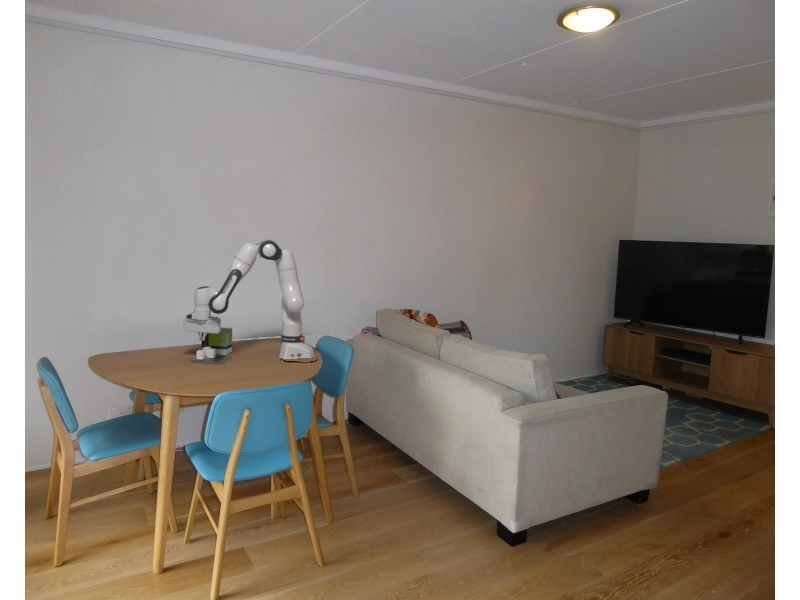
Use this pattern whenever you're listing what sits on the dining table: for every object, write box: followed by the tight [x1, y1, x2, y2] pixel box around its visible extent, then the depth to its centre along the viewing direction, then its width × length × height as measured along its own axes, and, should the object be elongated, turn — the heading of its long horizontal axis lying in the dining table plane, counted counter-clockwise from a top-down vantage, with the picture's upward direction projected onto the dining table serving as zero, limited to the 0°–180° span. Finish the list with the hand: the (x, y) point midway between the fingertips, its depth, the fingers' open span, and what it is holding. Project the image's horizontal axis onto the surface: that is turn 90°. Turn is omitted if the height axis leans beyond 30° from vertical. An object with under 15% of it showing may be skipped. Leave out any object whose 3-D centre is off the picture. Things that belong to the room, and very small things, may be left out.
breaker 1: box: [196, 349, 205, 360], centre depth 302 cm, size 4×3×4 cm
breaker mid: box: [207, 349, 216, 358], centre depth 306 cm, size 4×3×4 cm
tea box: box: [200, 327, 233, 356], centre depth 325 cm, size 15×10×15 cm
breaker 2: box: [203, 347, 211, 356], centre depth 311 cm, size 4×3×4 cm
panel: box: [189, 354, 232, 365], centre depth 307 cm, size 18×14×2 cm
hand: (201, 340), depth 305 cm, fingers closed
